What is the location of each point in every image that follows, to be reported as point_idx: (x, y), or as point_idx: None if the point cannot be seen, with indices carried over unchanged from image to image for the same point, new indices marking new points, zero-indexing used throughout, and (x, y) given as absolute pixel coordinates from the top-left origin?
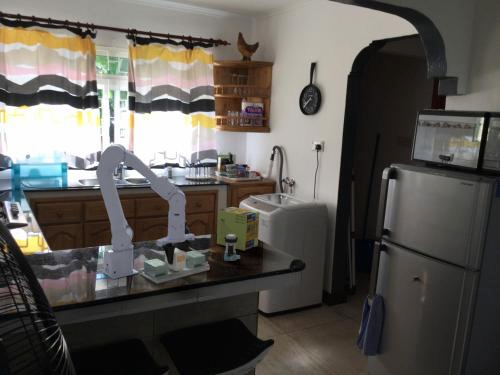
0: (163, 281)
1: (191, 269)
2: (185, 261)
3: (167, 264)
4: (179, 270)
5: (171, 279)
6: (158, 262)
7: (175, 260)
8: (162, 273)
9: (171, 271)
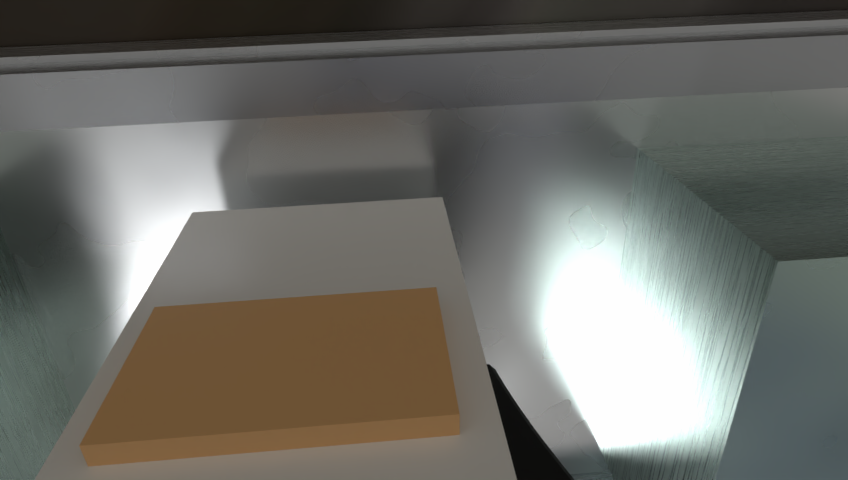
0: (798, 14)
1: (88, 72)
2: (143, 300)
3: (788, 255)
4: None
5: (622, 22)
6: (841, 445)
7: (477, 357)
8: (793, 165)
9: (464, 275)
